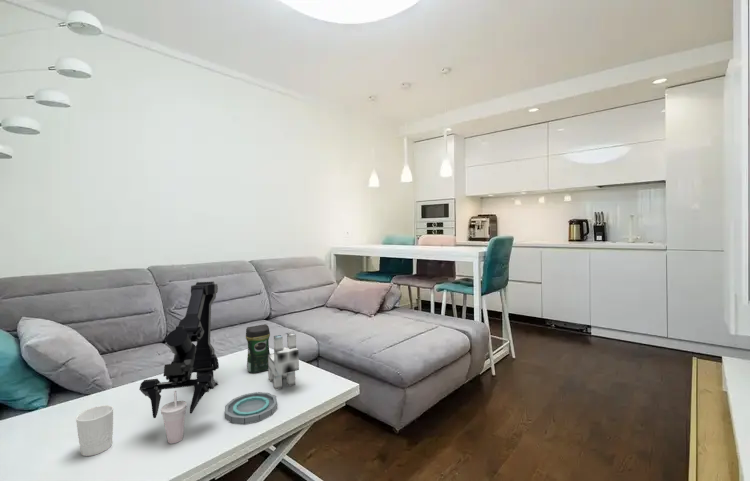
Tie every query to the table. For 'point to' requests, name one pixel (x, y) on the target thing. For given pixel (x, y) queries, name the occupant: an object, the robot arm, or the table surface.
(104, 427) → the white cup
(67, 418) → the table surface
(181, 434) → the smoothie
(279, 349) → the toy llama
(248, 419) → the tray
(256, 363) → the coffee jar
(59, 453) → the table surface
